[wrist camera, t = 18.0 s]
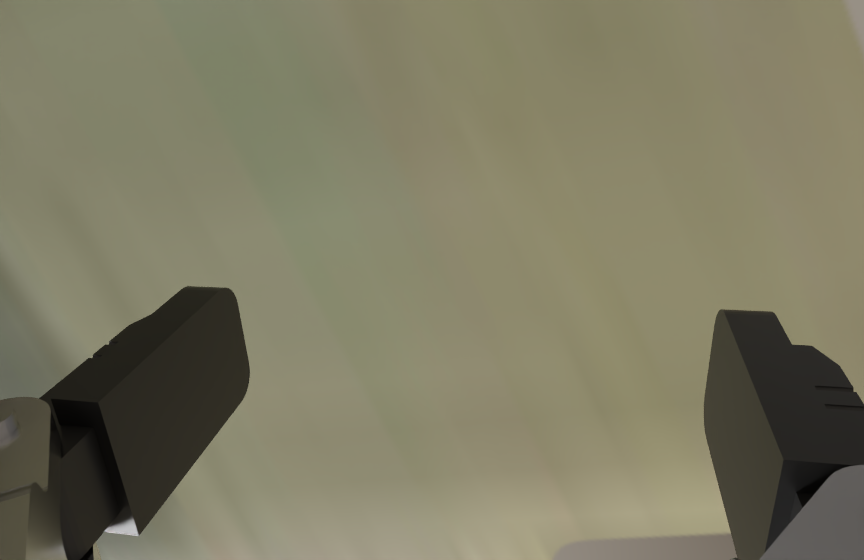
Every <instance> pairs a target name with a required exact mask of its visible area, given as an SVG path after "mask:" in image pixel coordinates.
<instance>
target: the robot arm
mask: <svg viewBox="0 0 864 560" xmlns="http://www.w3.org/2000/svg"><path fill="white" fill-rule="evenodd" d="M249 376H250V369H249V361H248V356H247V351H246V345H245V340H244V335H243V329H242V324H241V319H240V313H239V308H238V303H237V299H236V297H235V295H234V293H233V292H232V290H230V289H229V288H217V287H193V286H187V287H184V288H183V289H181V290H180V291H179V292H178V293H177V294H175V295H174V296H173V297H172V298H171V299H169V300H168V301H167V302H166V303H165V304H163V305H162V306H161V307H160V308H159V309H157V310H156V311H155V312H154V313H153V314H151V315H149V316H147V317H145V318H143V319H141V320H139V321H137V322H135V323H133V324H131V325H129V326H128V327H126V328H125V329H124V330H123V331H121V332H120V333H119V334H118V335H117V336H115V337H114V338H113V339H112V340H110V341H109V345H104V346H103V347H102V348H101V349H99V350H98V351H97V352H96V353H94V354H93V358H88V359H87V360H86V361H85V362H83V363H82V364H81V365H80V366H79V367H77V368H76V369H75V370H74V371H72V372H71V373H70V374H69V375H67V376H66V377H65V378H64V379H63V380H61V381H60V382H59V383H58V384H56V385H55V386H54V387H53V388H52V389H50V390H49V391H48V392H47V393H45V394H44V395H43V396H42V397H40V398H39V399H38V398H33V397H16V398H9V399H4V400H0V560H101V556H100V553H99V550H98V547H97V544H96V541H97V540H98V538H99V537H100V536H101V535H102V534H103V532H111V533H119V534H127V535H135V536H139V535H140V534H141V532H142V531H143V530H144V528H145V527H146V526H147V525H148V523H149V522H150V521H151V519H152V518H153V517H154V515H155V514H156V513H157V511H158V510H159V509H160V508H161V506H162V505H163V504H164V502H165V501H166V500H167V498H168V497H169V496H170V494H171V493H172V492H173V490H174V489H175V488H176V487H177V485H178V484H179V483H180V481H181V480H182V479H183V477H184V476H185V475H186V473H187V472H188V471H189V470H190V468H191V467H192V466H193V464H194V463H195V462H196V460H197V459H198V458H199V456H200V455H201V454H202V453H203V451H204V450H205V449H206V447H207V446H208V445H209V443H210V442H211V441H212V439H213V438H214V437H215V435H216V434H217V433H218V432H219V430H220V429H221V428H222V426H223V425H224V424H225V422H226V421H227V420H228V418H229V417H230V416H231V415H232V413H233V412H234V411H235V409H236V408H237V407H238V405H239V404H240V403H241V401H242V400H243V398H244V396H245V394H246V391H247V388H248V384H249ZM704 426H705V434H706V439H707V442H708V446H709V450H710V454H711V458H712V462H713V465H714V469H715V473H716V477H717V481H718V485H719V488H720V492H721V496H722V500H723V504H724V508H725V512H726V515H727V519H728V523H729V527H730V531H731V535H732V538H733V542H734V546H735V550H736V554H737V557H738V558H732V559H730V560H864V404H863V402H862V401H861V399H860V397H859V396H858V394H857V393H856V392H853V386H852V385H851V383H850V382H849V380H848V378H847V377H846V375H845V374H844V372H843V371H842V369H841V367H840V366H839V365H838V364H836V363H835V362H834V361H832V360H831V359H829V358H828V357H827V356H825V355H824V354H822V353H821V352H820V351H818V350H817V349H815V348H814V347H813V346H805V345H792V344H791V342H790V340H789V338H788V337H787V335H786V333H785V331H784V329H783V327H782V326H781V324H780V322H779V320H778V318H777V316H776V315H775V313H773V312H767V311H743V310H719V312H718V314H717V317H716V320H715V326H714V333H713V340H712V347H711V354H710V362H709V369H708V376H707V383H706V391H705V399H704Z"/></svg>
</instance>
